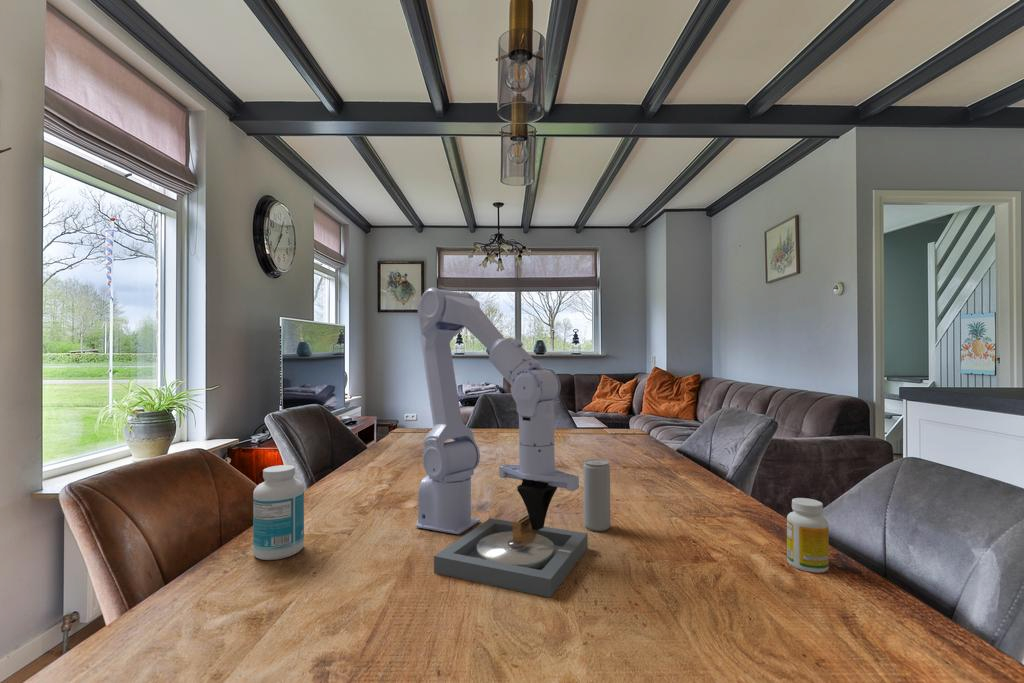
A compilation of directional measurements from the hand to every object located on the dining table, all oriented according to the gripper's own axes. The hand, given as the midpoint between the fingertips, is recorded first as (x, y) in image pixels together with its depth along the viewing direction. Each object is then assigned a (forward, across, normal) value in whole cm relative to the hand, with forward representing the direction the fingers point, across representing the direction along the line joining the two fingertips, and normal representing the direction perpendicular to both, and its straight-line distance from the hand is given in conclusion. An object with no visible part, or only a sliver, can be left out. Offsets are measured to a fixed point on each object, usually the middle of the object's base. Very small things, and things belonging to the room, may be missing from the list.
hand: (537, 528), depth 78 cm
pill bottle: (+4, +33, +26) cm, 42 cm away
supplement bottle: (+4, -34, -22) cm, 41 cm away
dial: (+4, +1, +4) cm, 6 cm away
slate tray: (+4, +1, +4) cm, 6 cm away
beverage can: (+4, -2, -16) cm, 17 cm away
